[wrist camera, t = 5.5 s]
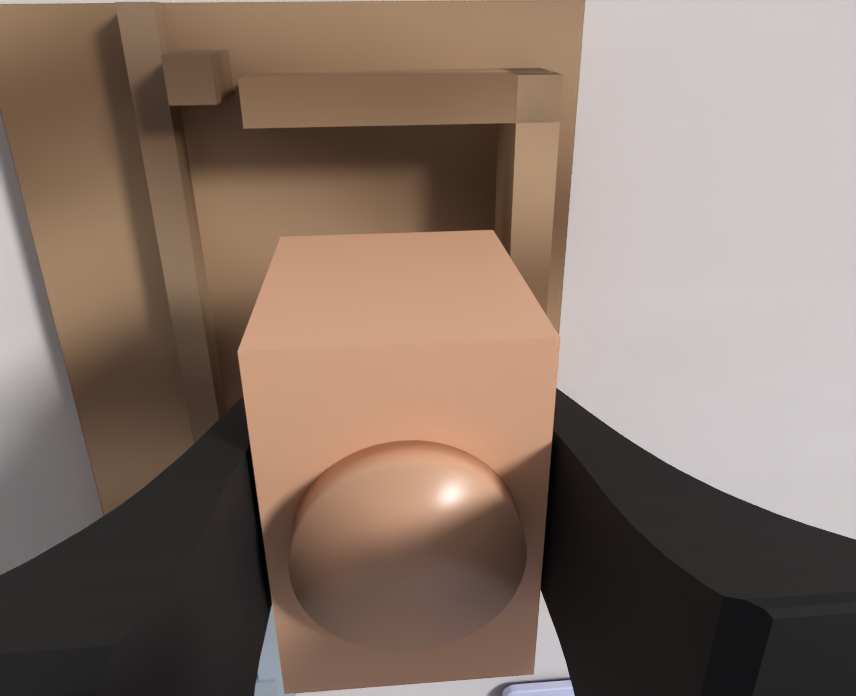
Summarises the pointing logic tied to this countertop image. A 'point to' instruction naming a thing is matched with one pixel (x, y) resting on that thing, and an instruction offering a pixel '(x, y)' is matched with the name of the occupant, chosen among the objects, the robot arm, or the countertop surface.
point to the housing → (263, 173)
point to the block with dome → (400, 456)
